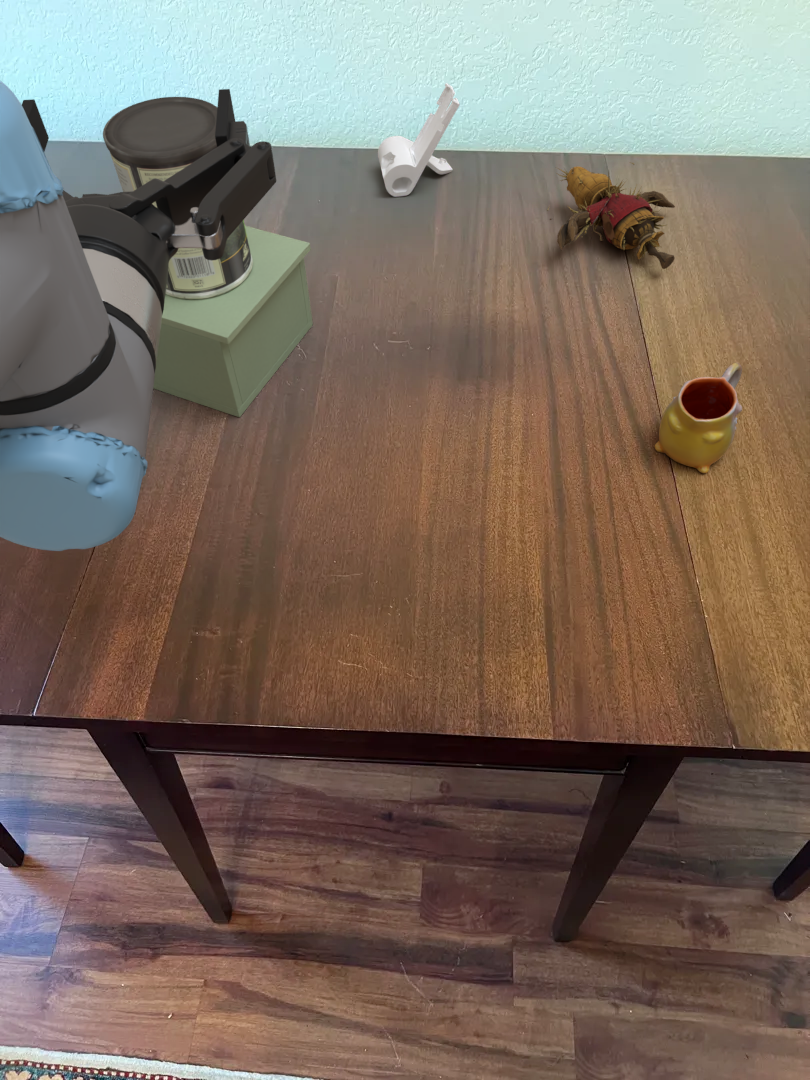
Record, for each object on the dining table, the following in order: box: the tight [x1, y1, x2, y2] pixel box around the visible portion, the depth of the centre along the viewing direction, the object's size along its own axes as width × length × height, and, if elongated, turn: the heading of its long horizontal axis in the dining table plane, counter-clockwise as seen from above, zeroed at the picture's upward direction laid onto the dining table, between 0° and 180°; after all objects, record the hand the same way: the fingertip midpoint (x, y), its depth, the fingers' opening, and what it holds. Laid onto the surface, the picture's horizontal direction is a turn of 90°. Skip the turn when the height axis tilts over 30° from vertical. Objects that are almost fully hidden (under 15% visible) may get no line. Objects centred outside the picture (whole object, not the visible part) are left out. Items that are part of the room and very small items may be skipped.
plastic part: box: [377, 82, 460, 198], centre depth 102 cm, size 8×10×12 cm
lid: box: [161, 225, 312, 344], centre depth 78 cm, size 15×16×1 cm
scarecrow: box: [546, 161, 676, 270], centre depth 95 cm, size 17×16×8 cm
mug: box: [654, 362, 743, 474], centre depth 76 cm, size 12×7×7 cm, turn 139°
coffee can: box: [102, 96, 253, 299], centre depth 72 cm, size 10×10×14 cm
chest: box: [153, 257, 314, 418], centre depth 82 cm, size 14×16×10 cm
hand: (132, 113), depth 56 cm, fingers open, 13 cm apart
